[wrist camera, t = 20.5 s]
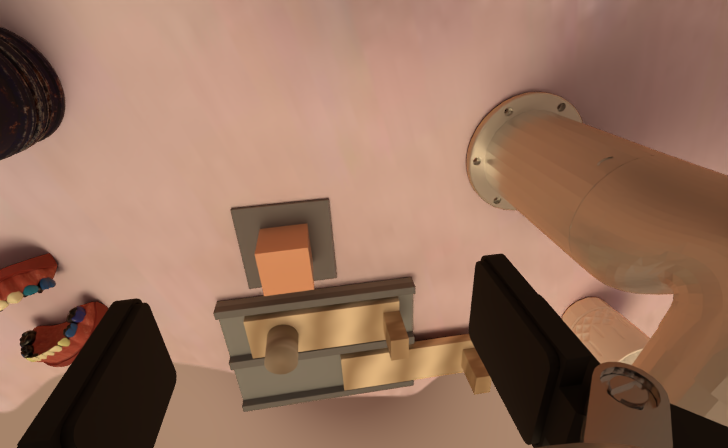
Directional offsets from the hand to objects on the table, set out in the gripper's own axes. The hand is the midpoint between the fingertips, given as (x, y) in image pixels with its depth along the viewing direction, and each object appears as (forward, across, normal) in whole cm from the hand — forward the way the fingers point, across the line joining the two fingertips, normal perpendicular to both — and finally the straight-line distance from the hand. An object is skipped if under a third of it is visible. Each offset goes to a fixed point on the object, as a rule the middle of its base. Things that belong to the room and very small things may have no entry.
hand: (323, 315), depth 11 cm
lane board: (+28, +2, +29) cm, 41 cm away
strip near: (+27, +1, +25) cm, 37 cm away
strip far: (+27, -10, +33) cm, 44 cm away
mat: (+28, +4, +14) cm, 32 cm away
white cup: (+28, -35, +31) cm, 55 cm away
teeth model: (+29, +30, +17) cm, 45 cm away
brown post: (+26, +6, +25) cm, 37 cm away
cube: (+28, +4, +14) cm, 31 cm away
